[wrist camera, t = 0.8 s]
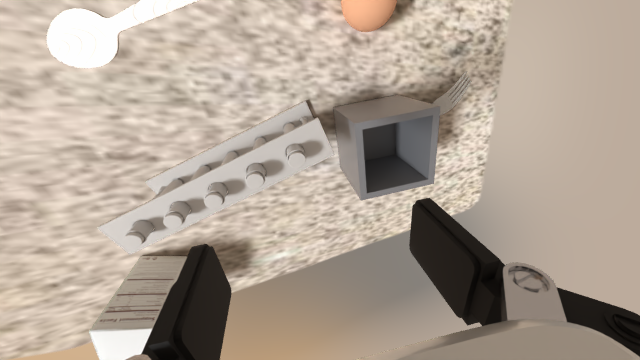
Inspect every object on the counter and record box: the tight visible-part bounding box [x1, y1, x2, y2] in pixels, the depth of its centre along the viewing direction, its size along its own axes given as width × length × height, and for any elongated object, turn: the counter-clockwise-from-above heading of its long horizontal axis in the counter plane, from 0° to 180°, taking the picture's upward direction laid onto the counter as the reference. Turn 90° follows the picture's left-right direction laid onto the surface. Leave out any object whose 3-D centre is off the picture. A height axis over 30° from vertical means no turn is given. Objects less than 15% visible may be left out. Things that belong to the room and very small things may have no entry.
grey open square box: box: [333, 95, 441, 200], centre depth 31 cm, size 10×10×10 cm
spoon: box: [46, 0, 199, 69], centre depth 25 cm, size 5×18×1 cm, turn 112°
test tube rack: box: [97, 101, 335, 255], centre depth 28 cm, size 25×4×13 cm, turn 114°
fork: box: [432, 71, 471, 115], centre depth 37 cm, size 3×21×3 cm, turn 131°
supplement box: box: [89, 256, 187, 360], centre depth 35 cm, size 7×7×13 cm
